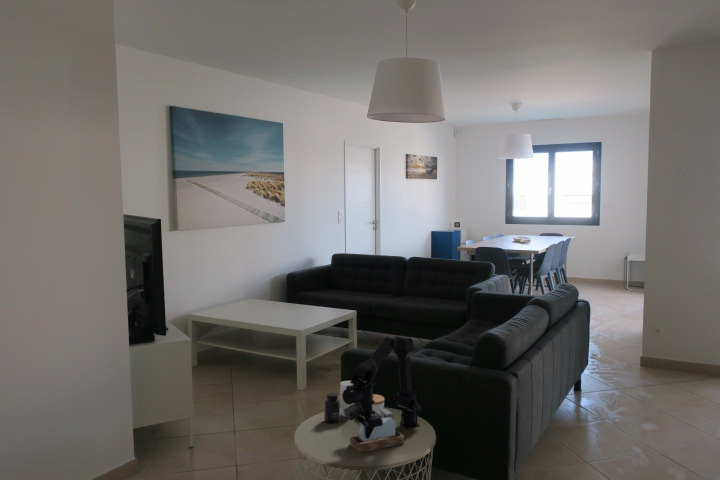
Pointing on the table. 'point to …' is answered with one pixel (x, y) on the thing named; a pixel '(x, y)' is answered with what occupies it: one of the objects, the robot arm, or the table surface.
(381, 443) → the tray
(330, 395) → the supplement bottle
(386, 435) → the pale blue rectangular pillar
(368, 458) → the table surface
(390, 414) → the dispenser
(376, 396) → the lidded jar
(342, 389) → the white cylinder
